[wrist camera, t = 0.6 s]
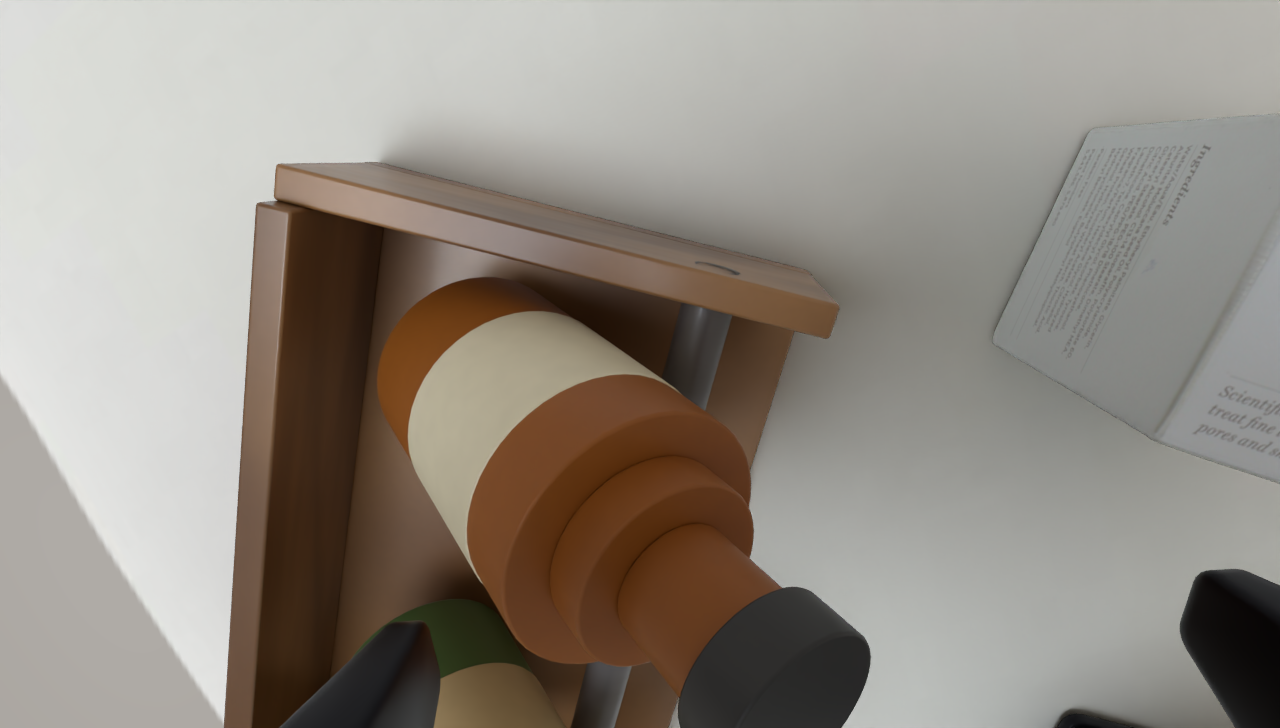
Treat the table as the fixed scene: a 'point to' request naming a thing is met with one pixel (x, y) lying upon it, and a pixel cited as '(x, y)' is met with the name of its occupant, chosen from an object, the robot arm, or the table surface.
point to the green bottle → (480, 669)
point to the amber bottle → (606, 510)
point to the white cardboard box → (1165, 286)
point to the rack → (367, 446)
